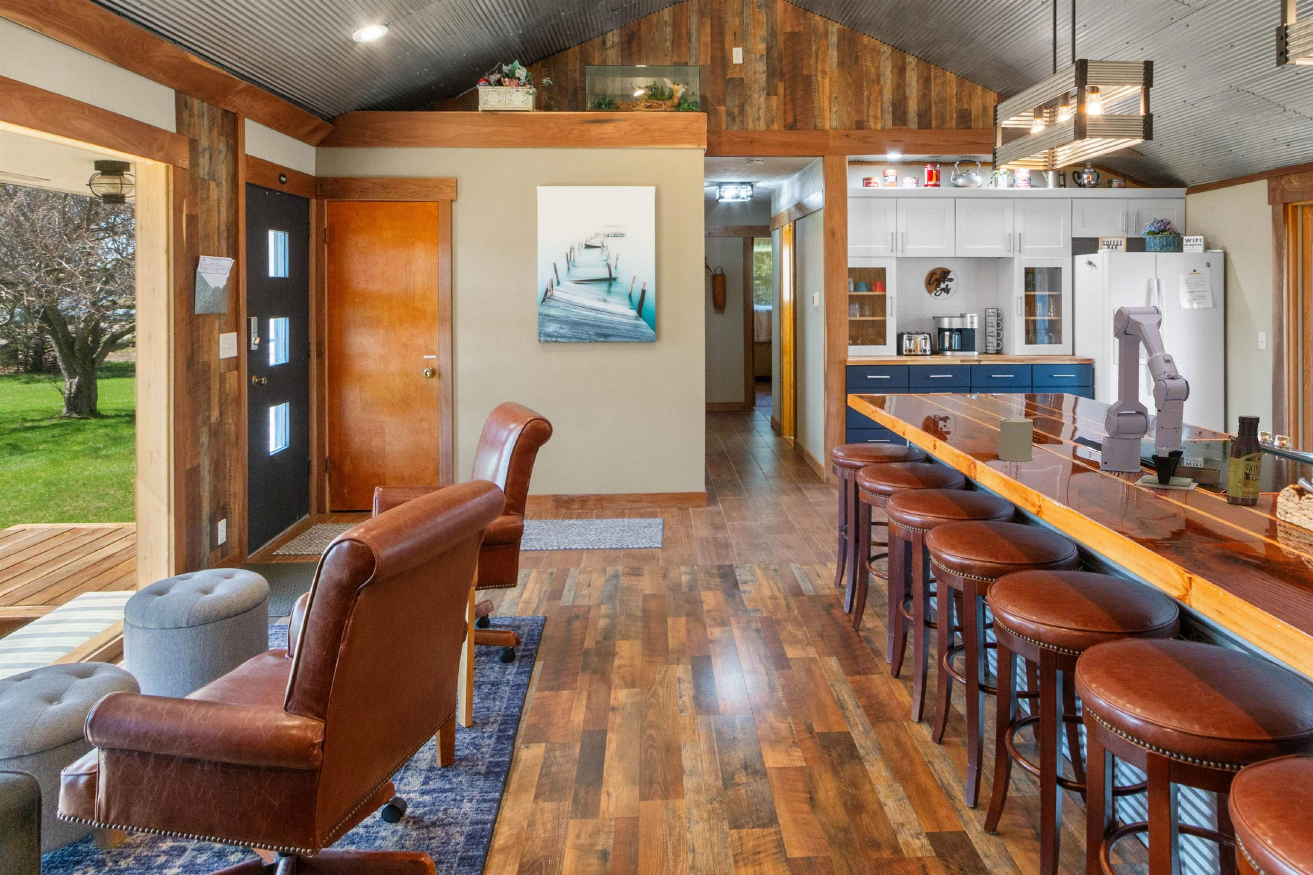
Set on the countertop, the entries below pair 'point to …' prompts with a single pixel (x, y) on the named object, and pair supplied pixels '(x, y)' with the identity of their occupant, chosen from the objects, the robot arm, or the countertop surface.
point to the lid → (1173, 481)
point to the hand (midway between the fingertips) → (1166, 481)
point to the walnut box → (1199, 474)
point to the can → (1016, 439)
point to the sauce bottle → (1245, 463)
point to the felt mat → (1186, 487)
